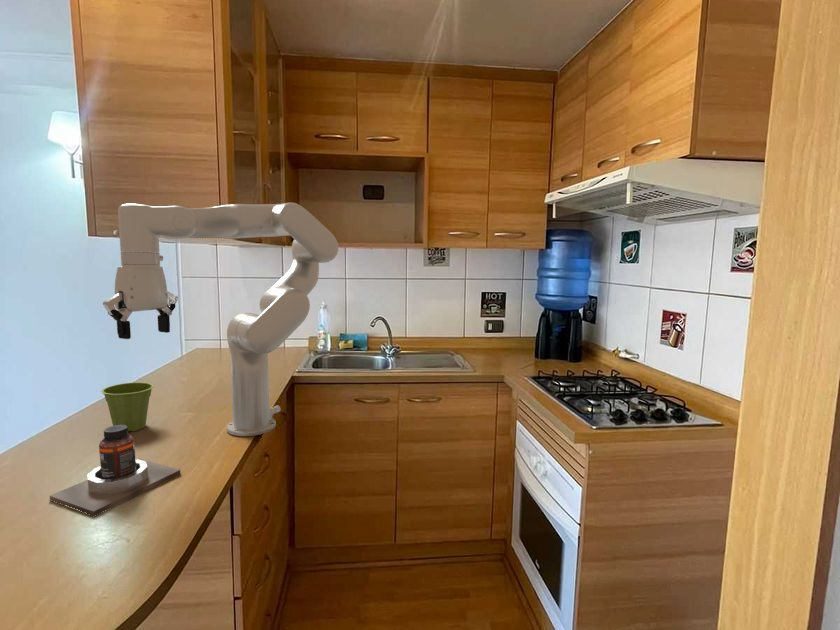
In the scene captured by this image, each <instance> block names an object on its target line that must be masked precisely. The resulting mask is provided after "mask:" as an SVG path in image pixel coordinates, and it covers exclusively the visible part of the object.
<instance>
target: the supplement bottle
mask: <svg viewBox="0 0 840 630" xmlns="http://www.w3.org/2000/svg"><path fill="white" fill-rule="evenodd" d="M103 437H104V438H103V439H101V440H100V442H99V444H98V449H99V450H98V451H99V460H100V462H99V463H100V466H101V476H102V479H116V478H120V477H124V476H127V475H130V474H132V473H134V472H136V450H135V449H136V448H135V439H134V437H133V436H132V435H131V434H129V431H128V429H127V426H126V425H115V426H113V425H110V426H109V427H105V428H104V430H103Z"/></svg>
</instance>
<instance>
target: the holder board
mask: <svg viewBox="0 0 840 630" xmlns="http://www.w3.org/2000/svg"><path fill="white" fill-rule="evenodd" d="M137 459H138V460H142V461H145V462H146V464H147V467H148V478H147V479H146V481H145V482H144V483H143V484H141V485H139V486H137V487H135V488H133V489H131V490H128V491H124V492H120V493H116V494H106V495H97V494H94V493H91V492H89V488H88V479H86V480H83V481H81V482H79V483H77V484H74V485H71V486H70V487H67V488H65V489H62V490H60V491H57V492H54V493H52V494H50V495H49V501H50V500H52V501H51V502H53V501H55V502H57V503H56V504H58V503H61V504H63V505H67V506H69V507H72V508H75V509H78V510H80V511H82V512H86V513H87V514H86V515H88V514H90V515H89V516H91V515H92V516H91V517H93V516H94V517H96V516H98V515H100V514H102V513H104V512H106V511H108V510H111V509H112V507H113V508H114V506H115V507H117V506H118V505H120V504H123V503H124V502H127V501H128V500H131V499H133V498H134V497H137V496H139V495H141V494H143V493H145V492H148V491H149V490H151V489H153V488H155V487H157V486H159V485H162V484H164V483H166V482H167V480H168V481H169V480H172V479H174V478H176V477H178V476H180V475H181V469H179V468H175V467H172V466H169V465H165V464H161V463H157V462H153V461H150V460H146V459H143V458H137ZM173 477H174V478H173ZM171 478H172V479H171ZM126 500H127V501H126ZM55 502H54V503H55ZM61 504H60V505H61ZM63 505H62V506H63ZM116 505H117V506H116ZM69 507H68V508H69ZM72 508H71V509H72ZM110 508H111V509H110ZM105 510H106V511H105ZM80 511H79V512H80ZM103 511H104V512H103ZM82 512H81V513H82ZM101 512H102V513H101ZM99 513H100V514H99ZM97 514H98V515H97ZM95 515H96V516H95Z"/></svg>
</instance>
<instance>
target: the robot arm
mask: <svg viewBox="0 0 840 630" xmlns="http://www.w3.org/2000/svg"><path fill="white" fill-rule="evenodd" d="M117 216H118V217H117V218H118V231H119V232H118V233H119V235H118V236H119V248H120V250H119V251H120V264H121V266H117V268H116V273H115V281H114V295H113V296H111V297H109V298H108V299H105V301H103V302H102V305H103V307H104V309H105V310H106V311H107V315H109V316H110V317H111V318H113V320H114V321H116V330H117V335H118V338H119V339H123V340H130V339H131V337H132V336H131V335H132V334H131V322H130V320H128V319H129V317H130V316H131V314H132V313H133V312H144V311H153V310H156V311H157V313H159V314H158V315H157V329H158V332H159V333H166V334H167V333H171V322H170V321H171V320H170V317H171V316H172V314H173V311H174V310H175V308H176V305H177V302H178V299H179V296H178V295H175V294H173V293H171V292H170V291H168V287H167V286H168V285H167V280H166V277H165V276H166V275H165V271H164V268H163V266H161V262H163V261H164V256H163V255H160V239H159V238H162V239H165V240H183V239H184V240H185V239H204V238H205V239H207V238H208V239H209V238H210V239H211V238H213V239H214V238H215V239H219V238H220V239H248V238H267V237H268V238H269V237H285V236H290V237H291V238H292V239H293V241H292V244H291V253H292V254H291V255H292V263H291V265H290V268H289V269H288V270H287V271H286V273H284V274H283V276H282V277H281V278H279V280H277V281H276V282H275V283H274V284H273V285H271V287H270V288H269V289H267V290H266V291H265V292H264V293H263V295H262V296H261V298H260V300H259V310H260V311H261V313H260V314H257V313H254V312H253V313H252V312H241V313H239V314H236V315H235V316H234V317H232V319H231V320H230V321H229V323H228V325H227V329H226V339H227V345H228V349H229V357H230V376H231V378H230V379H231V380H230V381H231V406H232V421H231V422H229V423H227V425H226V432H227V433H228V434H230V435H231V436H237V437H253V436H254V437H255V436H258V435H259V436H261V435H263V434H266V433H268V432H272V431H273V429H275V428H276V426H277V422H276V421H277V420H275V418H273V416H274V414H277V413H279V412H280V411H281V406H280V405H274V406H273V407H271V406H270V404H271V403H270V373H269V372H270V368H269V367H270V366H269V364H270V363H269V355H268V354H271V352H273V351H275V350H276V349H279V347H280V346H281V345H282V344H283V343H284V342H285V341H286V340H287V339H288V338H289V337H290V336H291V335H292V334H293V333H294V332H295V331H297V329H298V328H299V327H300V326H301V325H302V324H303V323H304V322H305V320H306V319H307V316H308V315H309V312H310V309H311V308H310V307H311V302H310V299H309V297H308V296H309V294H310V293H311V292H312V291H313V290H314V288H315V287H316V285H317V283H318V282H319V274H320V273H319V272H320V264H319V263H322V264H323V263H324V264H325V263H329V262H331V261H333V260H334V259H335V258H336V257H337V255H338V252H339V244H338V240H337V239H336V237H335V235H334V234H333V233H332V232H331V231H330V230H329V228H327V227H326V226H325V225H324V224H322V222H320V220H318V219H317V218H316V217H315V215H313V214H312V213H311V212H309V211H308V209H306V208H305V207H303V206H302V205H300V204H298V203H296V202H290V201H289V202H285V203H284V202H283V203H276V204H275V203H272V204H271V203H268V204H267V203H264V204H263V203H262V204H261V203H260V204H259V203H258V204H256V203H255V204H253V203H252V204H250V203H249V204H248V203H247V204H246V203H245V204H244V203H234V204H223V205H218V206H210V207H198V208H197V207H195V208H187V207H185V206H183V205H182V206H181V205H168V206H167V205H166V206H161V205H160V206H153V205H147V204H141V203H140V204H139V203H124V204H121V205H119V207H118V209H117Z"/></svg>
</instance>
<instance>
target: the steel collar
mask: <svg viewBox="0 0 840 630" xmlns="http://www.w3.org/2000/svg"><path fill="white" fill-rule="evenodd" d="M135 459H136V458H135ZM138 459H139V458H137V459H136V472H134V473H132V474H130V475H127V476H124V477H120V478H116V479H102V476H101V465H99V466H97V467H95V468H93V469H92V470H91V471H90V472H88V473H87V475H86V476H87V480H88V488H89V492H91V493H94V494H97V495H106V494H116V493H120V492H124V491H128V490H131V489H133V488H135V487H137V486H139V485H141V484H143V483H144V482H145V481H146V479H147V478H148V467H147V464H146V462H145V461H142V460H138Z"/></svg>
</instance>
